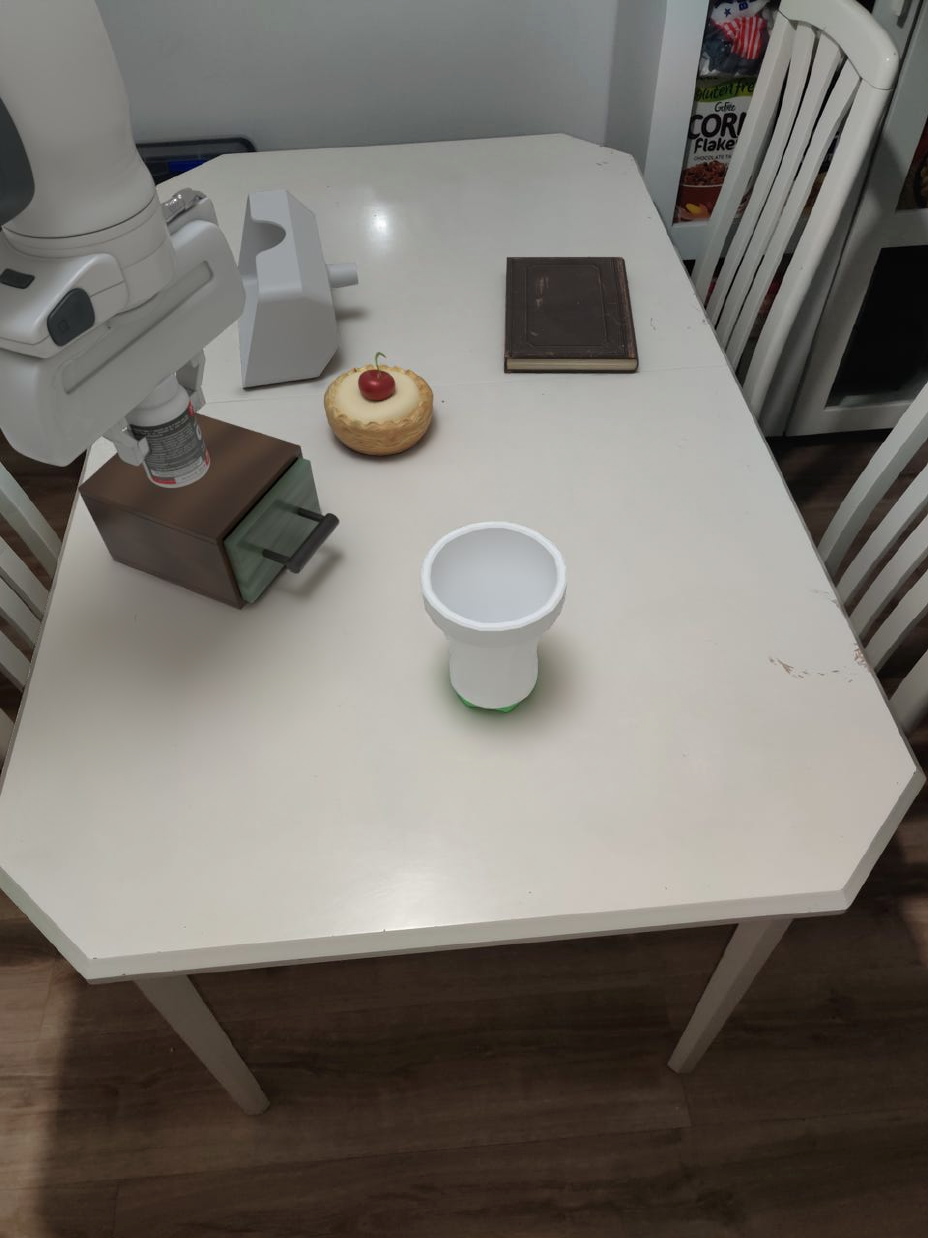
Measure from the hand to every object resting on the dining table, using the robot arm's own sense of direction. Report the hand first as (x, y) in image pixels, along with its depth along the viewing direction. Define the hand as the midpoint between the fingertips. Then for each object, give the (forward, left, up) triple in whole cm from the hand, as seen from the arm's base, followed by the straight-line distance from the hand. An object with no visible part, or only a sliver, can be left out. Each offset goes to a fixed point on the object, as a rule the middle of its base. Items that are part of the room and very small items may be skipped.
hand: (165, 433), depth 63 cm
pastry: (-2, +31, -24) cm, 39 cm away
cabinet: (-9, +9, -23) cm, 27 cm away
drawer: (-5, +9, -22) cm, 25 cm away
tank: (-22, +45, -24) cm, 56 cm away
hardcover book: (+9, +60, -24) cm, 65 cm away
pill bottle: (0, 0, -4) cm, 4 cm away
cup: (+24, +5, -24) cm, 34 cm away
